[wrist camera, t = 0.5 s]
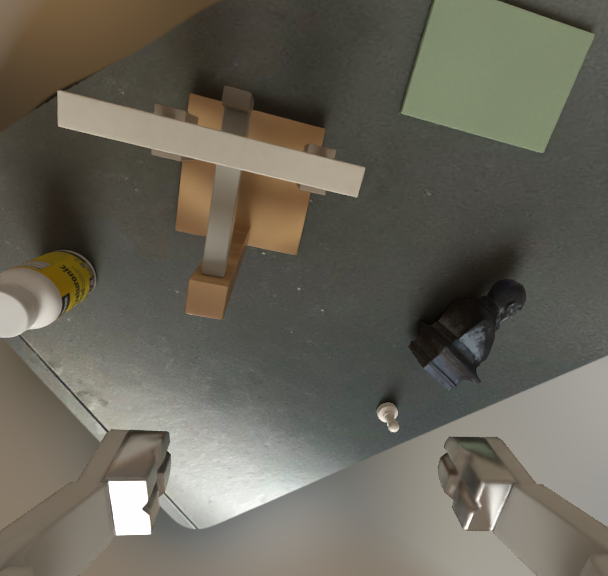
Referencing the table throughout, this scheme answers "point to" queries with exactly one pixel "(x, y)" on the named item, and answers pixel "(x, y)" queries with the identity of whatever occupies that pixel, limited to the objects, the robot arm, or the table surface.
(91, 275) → the supplement bottle
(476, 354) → the dark knob-ended part
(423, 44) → the mat
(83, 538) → the robot arm
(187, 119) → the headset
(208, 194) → the stand
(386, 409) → the chess pawn
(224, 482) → the table surface
